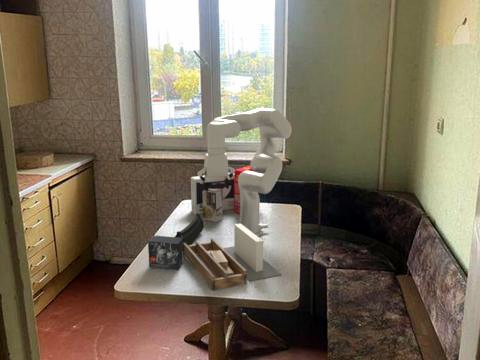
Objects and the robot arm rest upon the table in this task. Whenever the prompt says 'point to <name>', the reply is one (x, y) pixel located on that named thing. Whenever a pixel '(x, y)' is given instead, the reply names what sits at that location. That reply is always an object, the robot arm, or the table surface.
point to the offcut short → (219, 258)
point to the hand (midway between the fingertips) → (216, 189)
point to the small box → (165, 252)
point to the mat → (251, 273)
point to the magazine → (191, 230)
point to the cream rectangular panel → (248, 247)
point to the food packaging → (236, 188)
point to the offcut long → (226, 267)
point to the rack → (214, 265)
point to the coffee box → (212, 205)
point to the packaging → (213, 184)
